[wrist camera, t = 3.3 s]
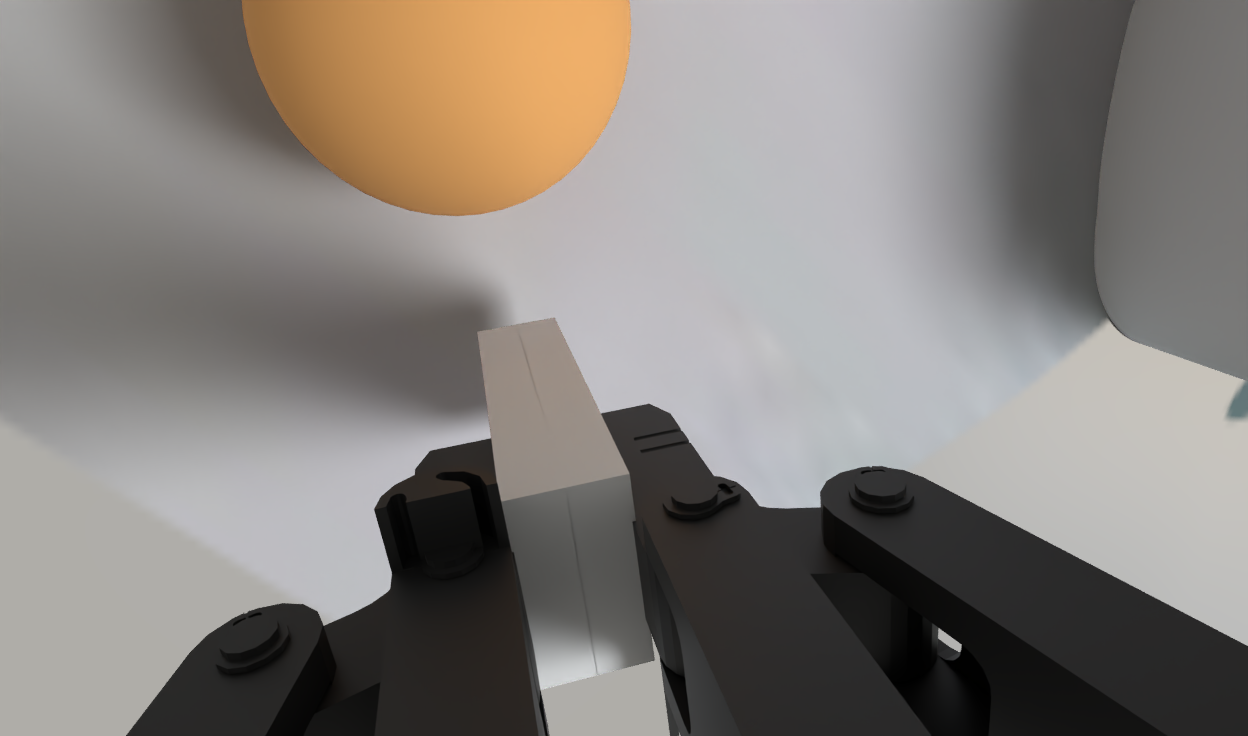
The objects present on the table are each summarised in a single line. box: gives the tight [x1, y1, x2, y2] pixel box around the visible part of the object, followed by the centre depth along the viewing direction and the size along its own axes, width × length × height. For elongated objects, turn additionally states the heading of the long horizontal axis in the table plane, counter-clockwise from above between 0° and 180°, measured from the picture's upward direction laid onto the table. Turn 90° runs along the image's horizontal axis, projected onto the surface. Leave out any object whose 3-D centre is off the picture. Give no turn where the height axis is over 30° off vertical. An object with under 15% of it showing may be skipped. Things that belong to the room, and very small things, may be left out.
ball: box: [242, 0, 631, 216], centre depth 11 cm, size 6×6×6 cm
